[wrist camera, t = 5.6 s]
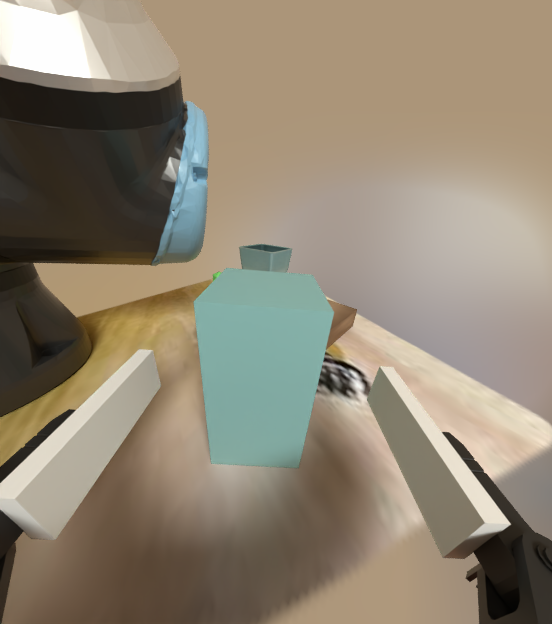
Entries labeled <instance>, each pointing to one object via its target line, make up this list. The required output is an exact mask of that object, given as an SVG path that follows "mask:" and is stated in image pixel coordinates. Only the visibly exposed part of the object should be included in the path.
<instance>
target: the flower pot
mask: <svg viewBox="0 0 552 624" xmlns="http://www.w3.org/2000/svg"><path fill="white" fill-rule="evenodd" d="M239 249H240V256H241V264H242V269H245V270H258V271H270V272H283V273H287V270H288V266H289V262H290V257H291V253H292V249H291V248H286V247H279V246H272V245H266V244H256V245H249V246H241V247H239Z"/></svg>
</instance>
